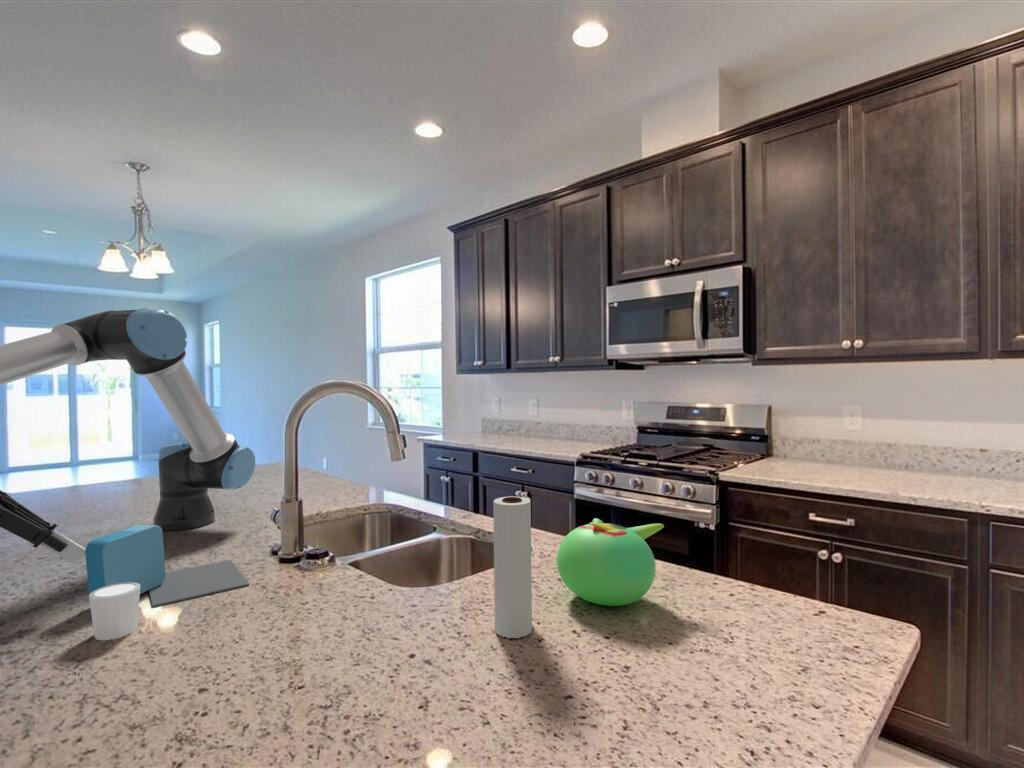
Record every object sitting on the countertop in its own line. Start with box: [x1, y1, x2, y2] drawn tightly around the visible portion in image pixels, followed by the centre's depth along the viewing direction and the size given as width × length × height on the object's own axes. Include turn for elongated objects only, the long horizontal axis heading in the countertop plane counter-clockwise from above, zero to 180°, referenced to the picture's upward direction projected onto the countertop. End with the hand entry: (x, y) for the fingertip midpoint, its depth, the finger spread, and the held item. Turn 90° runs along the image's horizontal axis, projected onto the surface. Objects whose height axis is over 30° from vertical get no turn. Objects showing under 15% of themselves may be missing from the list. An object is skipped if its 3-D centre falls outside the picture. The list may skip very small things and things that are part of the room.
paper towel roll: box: [492, 493, 533, 639], centre depth 88 cm, size 7×6×21 cm
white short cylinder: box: [88, 582, 141, 641], centre depth 89 cm, size 7×7×7 cm
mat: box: [148, 559, 250, 608], centre depth 111 cm, size 16×18×1 cm
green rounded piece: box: [556, 517, 665, 607], centre depth 100 cm, size 18×17×15 cm
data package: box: [85, 524, 166, 596], centre depth 104 cm, size 12×4×12 cm, turn 164°
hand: (81, 557), depth 99 cm, fingers closed
